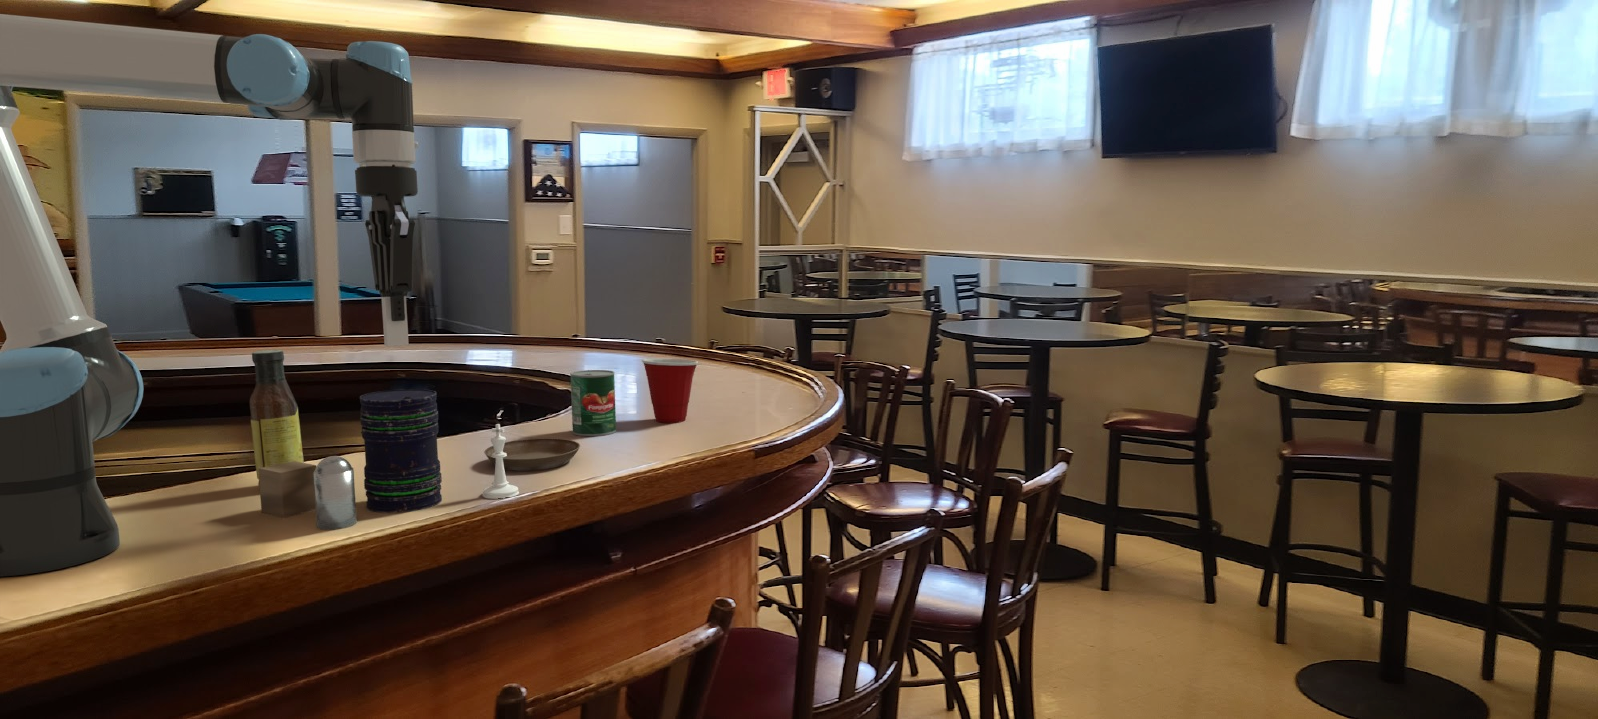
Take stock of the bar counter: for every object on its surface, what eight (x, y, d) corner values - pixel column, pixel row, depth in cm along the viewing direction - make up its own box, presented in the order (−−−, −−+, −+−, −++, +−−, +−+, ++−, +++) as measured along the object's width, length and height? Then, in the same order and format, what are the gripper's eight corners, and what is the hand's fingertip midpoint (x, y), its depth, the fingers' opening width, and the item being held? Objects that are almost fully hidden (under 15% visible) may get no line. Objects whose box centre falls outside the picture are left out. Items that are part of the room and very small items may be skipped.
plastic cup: (711, 419, 202) (710, 358, 200) (669, 427, 194) (668, 363, 192) (673, 413, 209) (672, 353, 207) (631, 420, 201) (629, 359, 199)
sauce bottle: (314, 482, 154) (305, 348, 151) (283, 493, 148) (273, 354, 145) (278, 480, 155) (268, 347, 153) (245, 490, 149) (234, 352, 147)
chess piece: (508, 499, 143) (505, 428, 142) (475, 498, 144) (472, 427, 143) (525, 490, 148) (522, 421, 147) (493, 489, 149) (490, 420, 148)
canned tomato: (590, 426, 195) (588, 368, 194) (625, 430, 192) (623, 371, 190) (563, 434, 188) (561, 374, 187) (598, 438, 185) (596, 376, 183)
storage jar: (353, 503, 142) (346, 395, 140) (423, 490, 149) (417, 386, 147) (384, 517, 135) (377, 403, 133) (455, 502, 142) (450, 394, 140)
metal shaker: (322, 531, 129) (317, 462, 127) (312, 523, 132) (308, 455, 131) (361, 525, 131) (357, 456, 130) (350, 517, 135) (346, 450, 134)
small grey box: (283, 518, 135) (280, 472, 134) (261, 512, 138) (258, 468, 137) (319, 509, 139) (316, 465, 139) (296, 504, 142) (293, 461, 141)
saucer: (509, 479, 156) (508, 462, 155) (470, 463, 167) (469, 446, 167) (597, 465, 165) (597, 448, 165) (554, 450, 176) (554, 434, 176)
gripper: (431, 164, 133) (441, 347, 136) (399, 169, 143) (409, 339, 146) (370, 162, 129) (382, 351, 132) (341, 167, 139) (353, 343, 142)
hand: (396, 345), depth 139 cm, fingers closed
